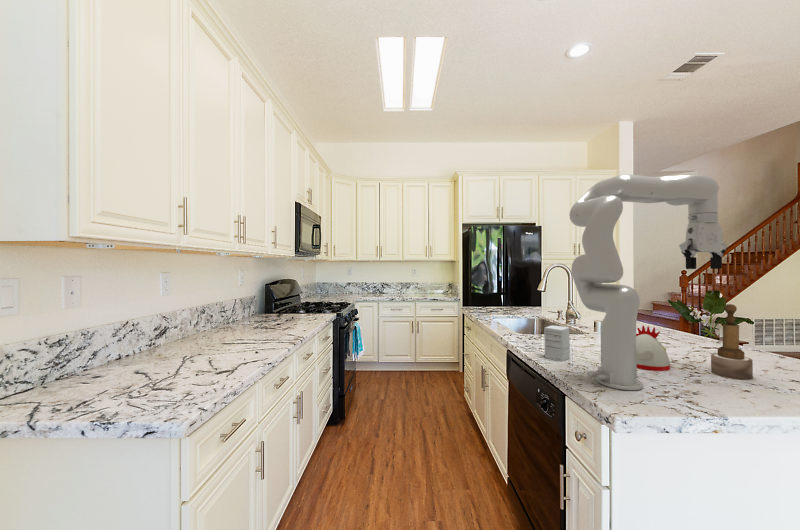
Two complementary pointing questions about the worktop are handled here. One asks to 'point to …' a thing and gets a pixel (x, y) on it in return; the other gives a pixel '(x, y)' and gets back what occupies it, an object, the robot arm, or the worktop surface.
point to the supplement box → (557, 342)
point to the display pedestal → (732, 367)
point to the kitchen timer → (650, 351)
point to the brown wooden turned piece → (730, 336)
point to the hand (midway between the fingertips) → (703, 268)
